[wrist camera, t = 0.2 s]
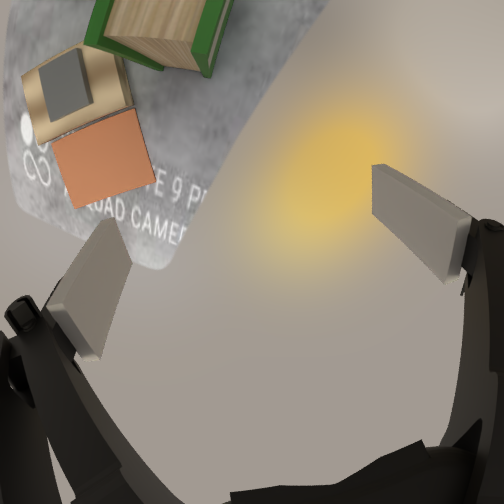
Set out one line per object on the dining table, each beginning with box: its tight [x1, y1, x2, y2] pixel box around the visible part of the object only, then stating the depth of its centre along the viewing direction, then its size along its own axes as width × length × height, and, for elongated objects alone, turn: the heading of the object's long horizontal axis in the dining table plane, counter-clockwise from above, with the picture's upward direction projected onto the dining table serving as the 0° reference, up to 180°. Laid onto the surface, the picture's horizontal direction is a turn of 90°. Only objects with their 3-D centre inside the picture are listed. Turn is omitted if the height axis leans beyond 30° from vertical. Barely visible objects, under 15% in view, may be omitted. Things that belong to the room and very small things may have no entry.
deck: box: [21, 41, 134, 146], centre depth 29 cm, size 11×14×4 cm
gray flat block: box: [38, 48, 94, 122], centre depth 27 cm, size 8×6×2 cm
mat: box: [51, 108, 156, 209], centre depth 37 cm, size 11×14×1 cm
